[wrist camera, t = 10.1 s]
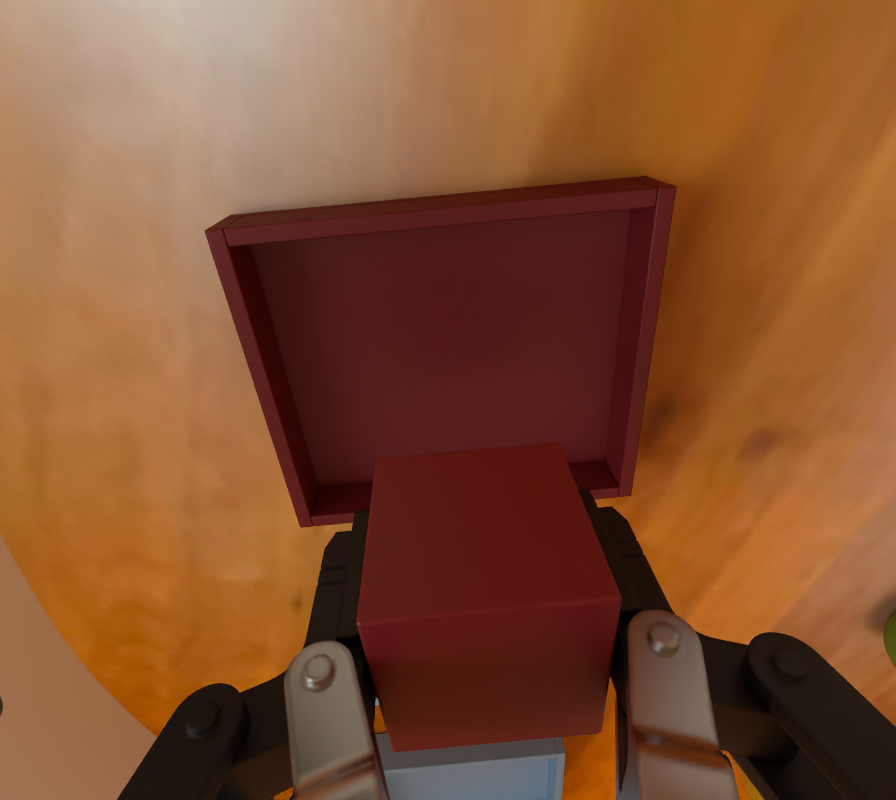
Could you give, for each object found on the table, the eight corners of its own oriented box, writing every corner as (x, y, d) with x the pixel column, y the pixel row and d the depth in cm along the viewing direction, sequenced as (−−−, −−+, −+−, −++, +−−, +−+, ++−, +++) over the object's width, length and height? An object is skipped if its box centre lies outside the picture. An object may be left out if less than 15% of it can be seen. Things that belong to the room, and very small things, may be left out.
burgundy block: (399, 580, 14) (392, 755, 11) (375, 457, 12) (354, 624, 8) (553, 566, 14) (602, 735, 11) (559, 440, 12) (624, 598, 8)
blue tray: (380, 811, 44) (378, 847, 42) (354, 735, 37) (350, 774, 35) (552, 794, 44) (559, 830, 42) (557, 716, 37) (565, 753, 35)
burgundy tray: (310, 491, 25) (300, 528, 23) (228, 214, 18) (203, 230, 16) (613, 462, 25) (631, 496, 23) (646, 175, 18) (677, 185, 16)
